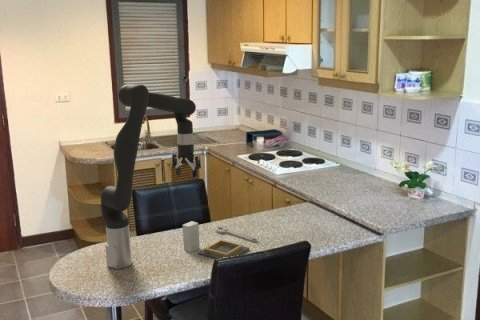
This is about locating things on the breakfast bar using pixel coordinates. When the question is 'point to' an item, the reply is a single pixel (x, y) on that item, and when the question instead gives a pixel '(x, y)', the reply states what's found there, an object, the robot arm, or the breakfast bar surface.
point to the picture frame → (223, 250)
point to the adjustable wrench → (234, 234)
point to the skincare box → (191, 236)
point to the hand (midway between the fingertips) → (186, 176)
